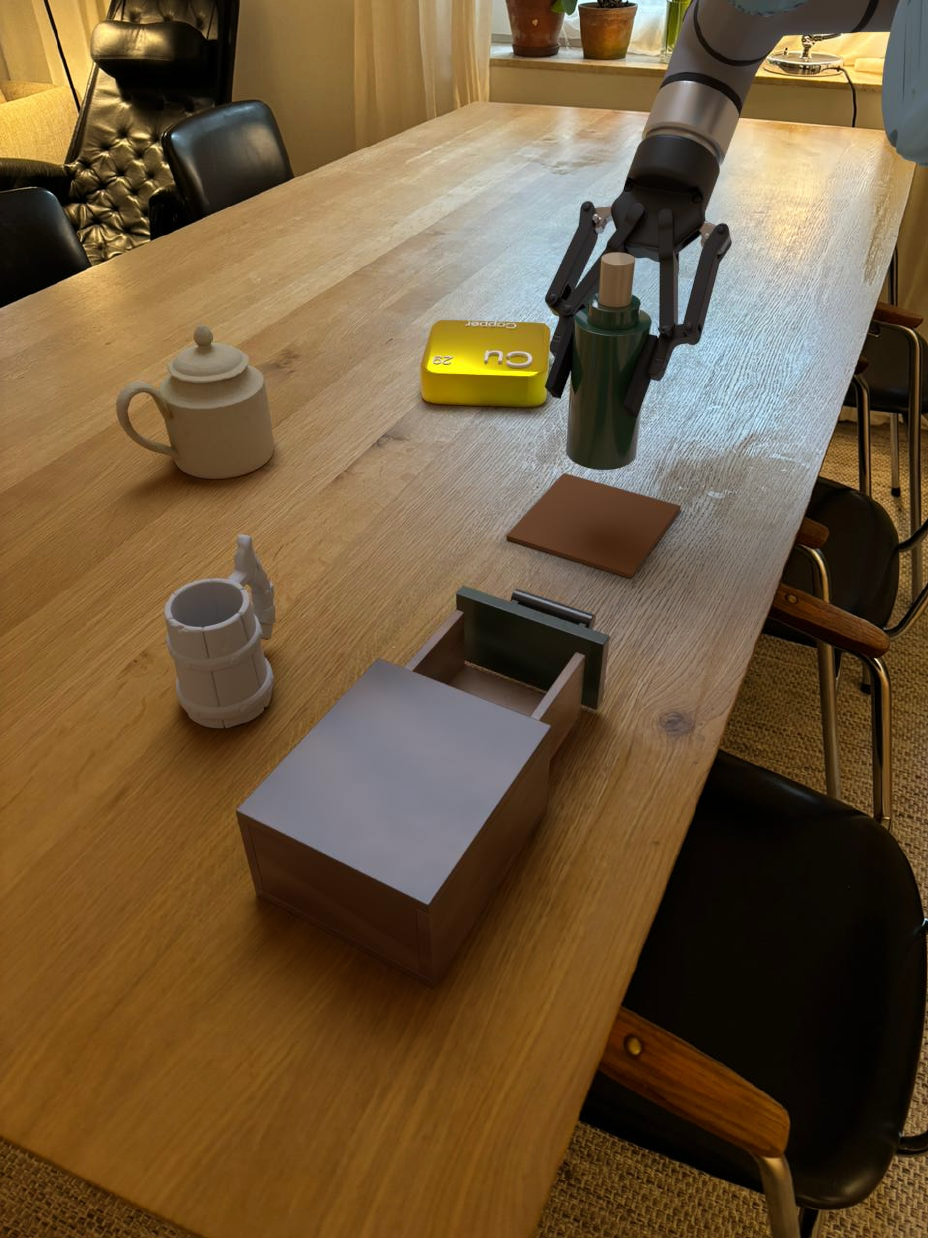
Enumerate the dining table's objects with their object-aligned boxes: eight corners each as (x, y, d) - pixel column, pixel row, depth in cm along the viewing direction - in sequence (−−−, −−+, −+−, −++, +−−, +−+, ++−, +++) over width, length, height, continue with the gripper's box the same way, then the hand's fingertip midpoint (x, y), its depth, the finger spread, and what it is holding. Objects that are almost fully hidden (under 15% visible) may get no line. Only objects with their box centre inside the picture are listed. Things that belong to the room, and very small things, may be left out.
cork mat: (679, 509, 100) (680, 505, 100) (630, 578, 92) (631, 574, 91) (563, 476, 105) (563, 472, 105) (506, 539, 97) (506, 535, 96)
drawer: (488, 621, 86) (488, 557, 81) (623, 669, 81) (632, 604, 76) (366, 765, 73) (359, 698, 69) (518, 832, 68) (520, 765, 64)
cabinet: (385, 741, 76) (377, 657, 71) (546, 810, 71) (552, 725, 65) (255, 895, 66) (234, 810, 60) (433, 989, 61) (428, 906, 55)
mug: (161, 718, 79) (126, 600, 71) (238, 626, 87) (214, 512, 79) (244, 742, 76) (218, 624, 69) (316, 647, 85) (299, 531, 77)
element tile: (549, 353, 128) (551, 317, 125) (545, 409, 116) (547, 371, 113) (434, 349, 129) (433, 314, 126) (419, 404, 118) (417, 367, 115)
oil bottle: (650, 448, 93) (674, 255, 82) (611, 478, 90) (630, 280, 78) (591, 427, 97) (606, 238, 85) (551, 454, 93) (562, 260, 81)
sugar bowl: (213, 508, 101) (184, 372, 92) (129, 483, 105) (93, 350, 95) (294, 441, 111) (276, 312, 102) (215, 420, 115) (190, 294, 106)
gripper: (794, 194, 86) (704, 442, 86) (587, 163, 94) (504, 392, 94) (789, 144, 79) (691, 414, 79) (567, 115, 87) (477, 362, 87)
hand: (590, 401), depth 86 cm, fingers closed on oil bottle, 7 cm apart
